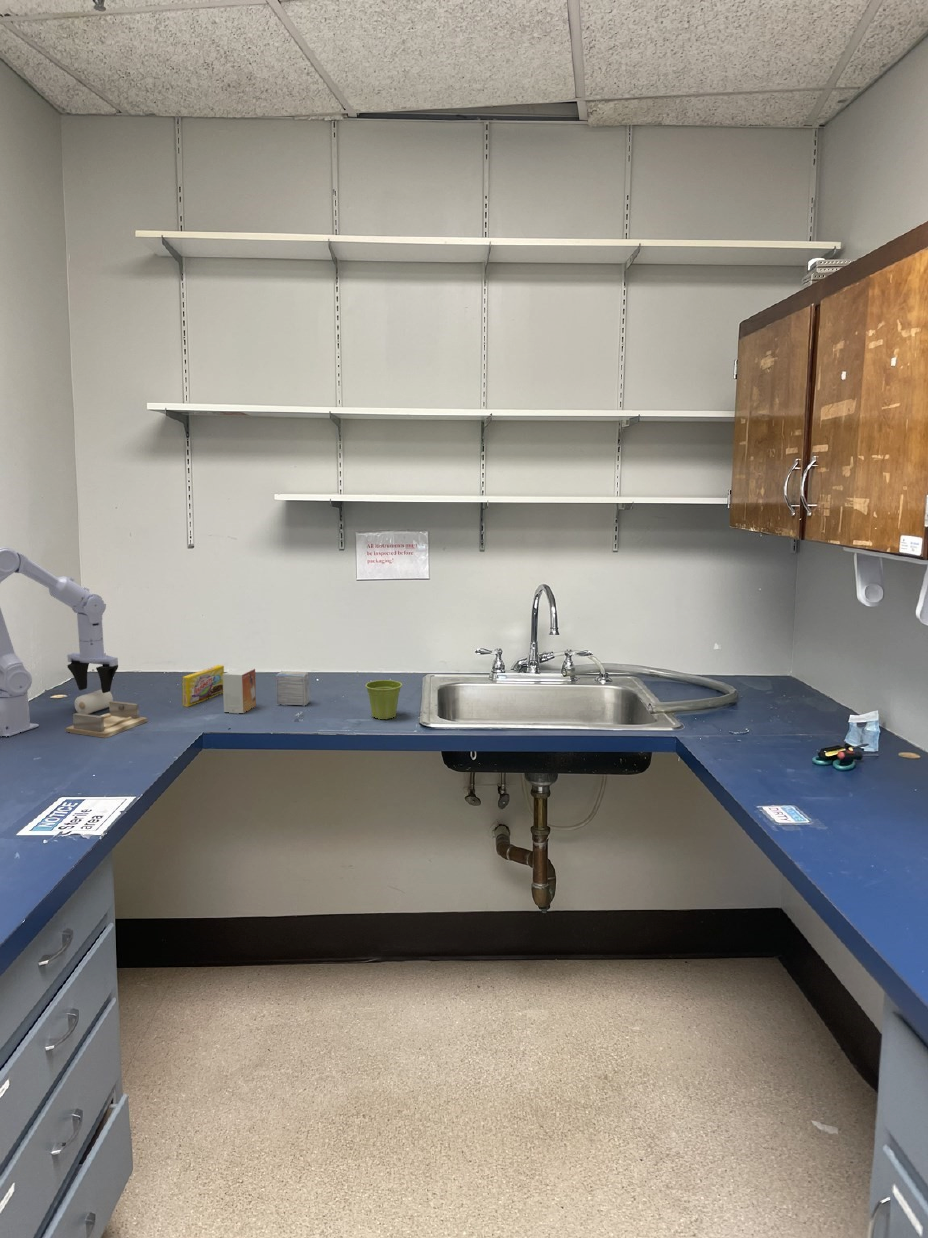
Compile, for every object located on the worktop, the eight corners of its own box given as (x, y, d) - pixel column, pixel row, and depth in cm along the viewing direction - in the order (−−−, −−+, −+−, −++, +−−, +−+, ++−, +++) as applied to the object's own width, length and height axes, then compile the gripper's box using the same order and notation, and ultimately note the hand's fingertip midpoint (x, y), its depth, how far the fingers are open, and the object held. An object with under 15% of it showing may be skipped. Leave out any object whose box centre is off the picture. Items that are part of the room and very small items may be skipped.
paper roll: (91, 714, 208) (88, 695, 208) (76, 715, 210) (72, 696, 209) (114, 706, 216) (111, 688, 215) (99, 707, 218) (96, 689, 217)
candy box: (189, 707, 218) (187, 677, 216) (182, 706, 218) (180, 676, 217) (225, 693, 233) (224, 664, 231) (218, 692, 233) (217, 664, 232)
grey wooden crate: (309, 702, 224) (309, 671, 223) (304, 706, 220) (304, 675, 218) (281, 701, 225) (281, 670, 223) (276, 705, 220) (275, 674, 219)
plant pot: (396, 723, 206) (396, 690, 204) (360, 720, 208) (360, 687, 206) (406, 713, 215) (406, 681, 214) (372, 710, 217) (371, 679, 215)
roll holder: (106, 737, 191) (105, 719, 190) (65, 732, 195) (64, 714, 194) (147, 721, 204) (146, 704, 203) (108, 716, 208) (107, 699, 207)
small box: (243, 714, 212) (241, 675, 210) (223, 713, 213) (221, 673, 211) (256, 706, 219) (255, 668, 218) (237, 705, 220) (236, 667, 219)
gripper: (125, 638, 211) (128, 689, 213) (80, 634, 216) (84, 684, 218) (104, 643, 205) (108, 696, 207) (59, 639, 209) (63, 690, 212)
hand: (94, 690), depth 212 cm, fingers open, 7 cm apart
